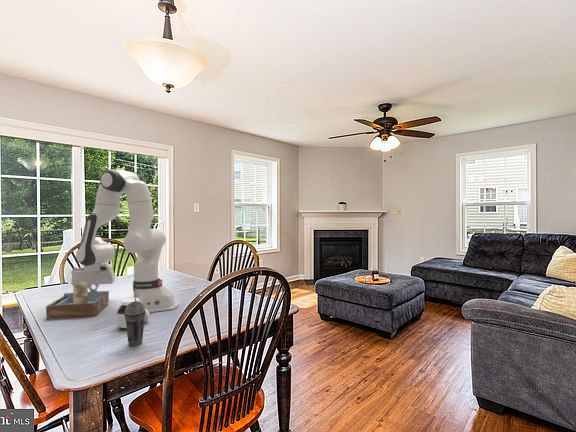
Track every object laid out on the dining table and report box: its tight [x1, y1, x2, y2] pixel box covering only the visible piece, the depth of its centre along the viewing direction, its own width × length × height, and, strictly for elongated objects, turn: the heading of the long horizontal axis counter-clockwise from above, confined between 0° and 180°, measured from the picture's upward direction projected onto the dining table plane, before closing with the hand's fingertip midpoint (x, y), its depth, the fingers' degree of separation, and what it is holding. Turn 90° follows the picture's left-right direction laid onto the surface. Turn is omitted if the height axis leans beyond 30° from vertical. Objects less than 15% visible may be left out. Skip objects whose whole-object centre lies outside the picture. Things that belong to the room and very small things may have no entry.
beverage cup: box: [124, 289, 146, 348], centre depth 117 cm, size 7×7×20 cm
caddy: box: [45, 294, 109, 320], centre depth 153 cm, size 17×20×6 cm
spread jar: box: [116, 297, 151, 331], centre depth 136 cm, size 12×11×12 cm
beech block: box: [72, 282, 89, 304], centre depth 155 cm, size 5×5×11 cm
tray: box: [56, 290, 110, 305], centre depth 156 cm, size 19×20×5 cm
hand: (93, 292), depth 171 cm, fingers closed
